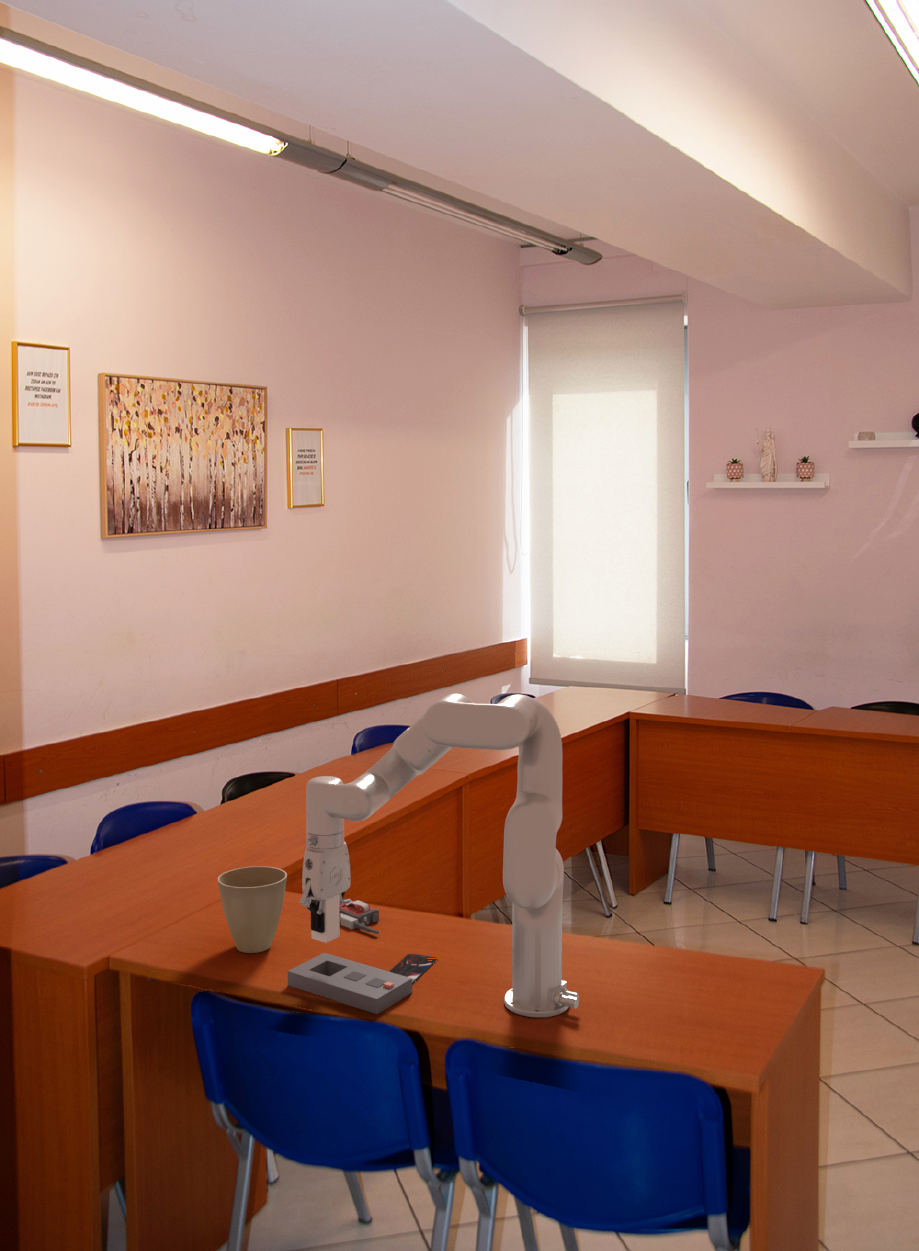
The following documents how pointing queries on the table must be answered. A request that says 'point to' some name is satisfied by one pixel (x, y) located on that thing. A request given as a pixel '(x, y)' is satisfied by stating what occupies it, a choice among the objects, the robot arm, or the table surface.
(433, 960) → the smartphone
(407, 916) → the table surface
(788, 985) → the table surface
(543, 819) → the robot arm
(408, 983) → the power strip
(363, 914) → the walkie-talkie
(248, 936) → the plant pot
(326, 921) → the block
